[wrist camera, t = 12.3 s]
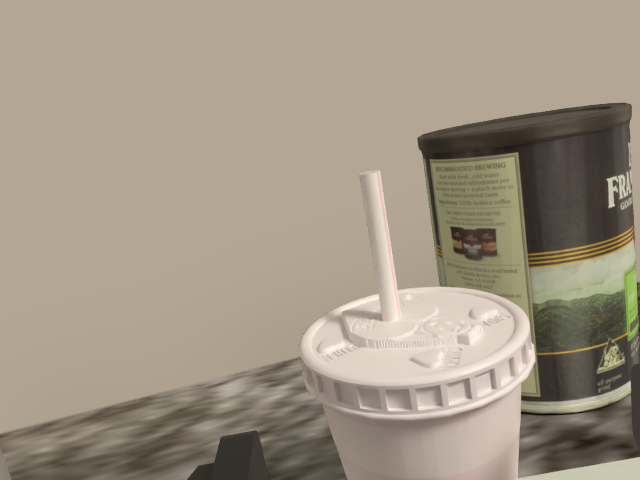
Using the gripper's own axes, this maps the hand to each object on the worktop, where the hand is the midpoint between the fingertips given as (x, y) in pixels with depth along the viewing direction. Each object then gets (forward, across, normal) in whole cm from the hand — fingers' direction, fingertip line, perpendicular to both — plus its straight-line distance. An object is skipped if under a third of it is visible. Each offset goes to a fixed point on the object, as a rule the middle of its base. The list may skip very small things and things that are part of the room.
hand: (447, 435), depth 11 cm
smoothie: (+4, 0, +9) cm, 10 cm away
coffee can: (+18, -9, +9) cm, 22 cm away
